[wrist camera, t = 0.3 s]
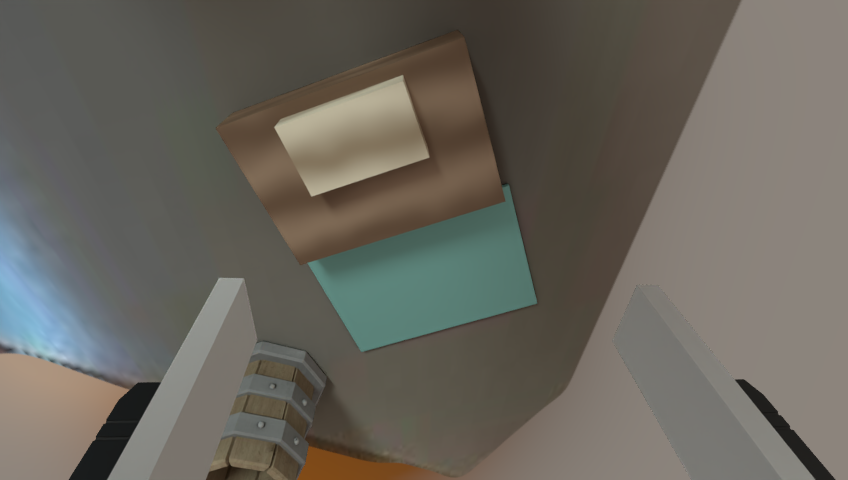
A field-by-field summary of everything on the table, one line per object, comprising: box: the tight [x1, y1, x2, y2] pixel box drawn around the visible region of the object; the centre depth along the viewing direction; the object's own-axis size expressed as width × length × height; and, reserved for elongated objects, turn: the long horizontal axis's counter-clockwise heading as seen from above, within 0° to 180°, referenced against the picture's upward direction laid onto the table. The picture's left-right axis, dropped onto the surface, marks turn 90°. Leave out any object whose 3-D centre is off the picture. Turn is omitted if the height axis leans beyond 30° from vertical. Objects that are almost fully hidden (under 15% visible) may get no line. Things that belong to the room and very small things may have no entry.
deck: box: [216, 30, 506, 265], centre depth 37 cm, size 14×20×4 cm
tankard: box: [206, 341, 327, 480], centre depth 47 cm, size 20×13×15 cm, turn 67°
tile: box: [274, 75, 430, 197], centre depth 33 cm, size 6×10×2 cm, turn 108°
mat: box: [308, 184, 537, 352], centre depth 46 cm, size 16×22×1 cm
